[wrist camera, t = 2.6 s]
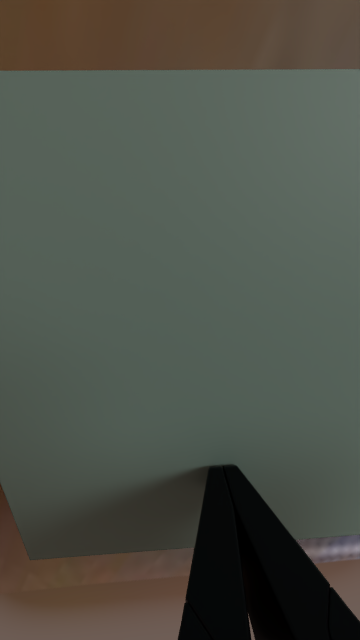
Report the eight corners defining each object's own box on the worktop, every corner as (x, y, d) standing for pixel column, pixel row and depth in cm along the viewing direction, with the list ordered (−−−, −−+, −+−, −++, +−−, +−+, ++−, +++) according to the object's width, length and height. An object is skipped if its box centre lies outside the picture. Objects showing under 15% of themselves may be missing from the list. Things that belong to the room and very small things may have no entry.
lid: (545, 88, 6) (613, 68, 5) (384, 503, 11) (404, 531, 10) (-105, 92, 5) (-159, 71, 5) (41, 528, 11) (30, 559, 10)
